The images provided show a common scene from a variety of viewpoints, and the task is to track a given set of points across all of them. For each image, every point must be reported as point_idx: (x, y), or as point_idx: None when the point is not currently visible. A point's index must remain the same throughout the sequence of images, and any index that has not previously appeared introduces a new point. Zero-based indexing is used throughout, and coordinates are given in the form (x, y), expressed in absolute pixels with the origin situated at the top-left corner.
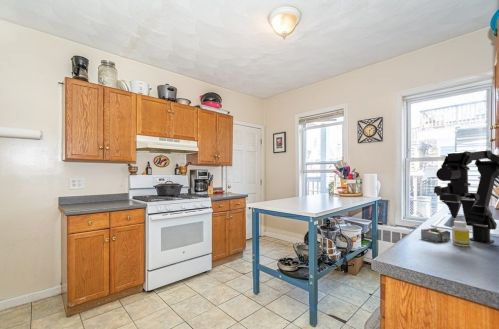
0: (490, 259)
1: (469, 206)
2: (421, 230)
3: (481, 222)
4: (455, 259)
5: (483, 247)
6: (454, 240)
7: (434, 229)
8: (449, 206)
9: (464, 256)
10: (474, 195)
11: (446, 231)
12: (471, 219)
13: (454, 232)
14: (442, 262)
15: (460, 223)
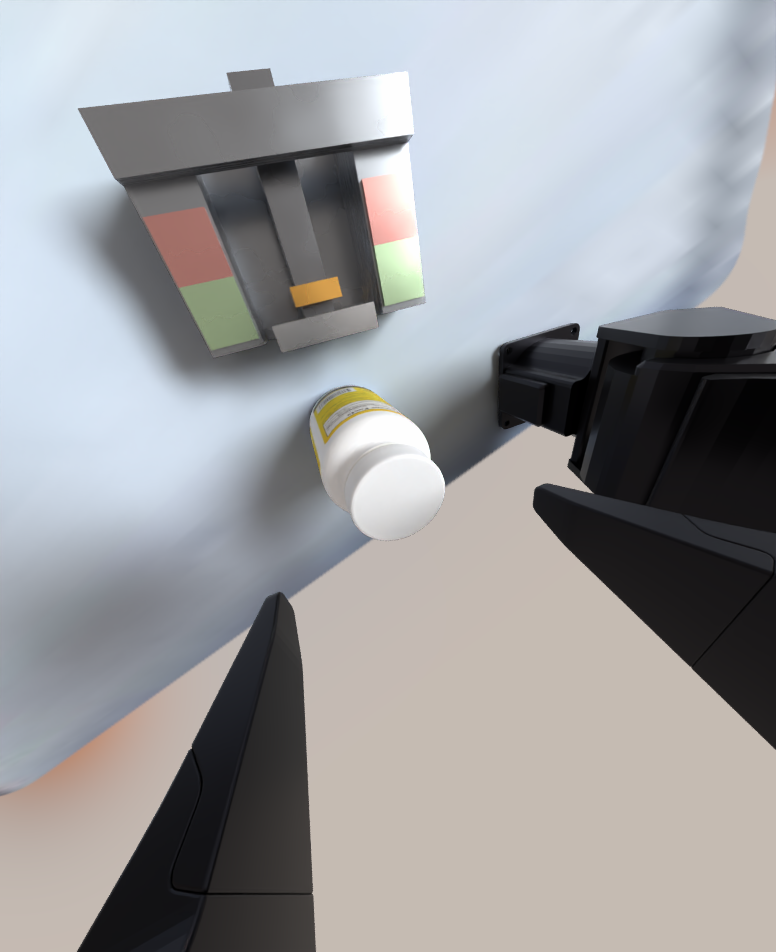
0: None
1: (672, 621)
2: (89, 123)
3: (585, 470)
4: (90, 618)
5: None
6: (310, 430)
7: (358, 148)
8: (138, 916)
9: (184, 580)
10: None
11: (357, 331)
12: (611, 416)
13: (316, 455)
14: None
15: (362, 528)
